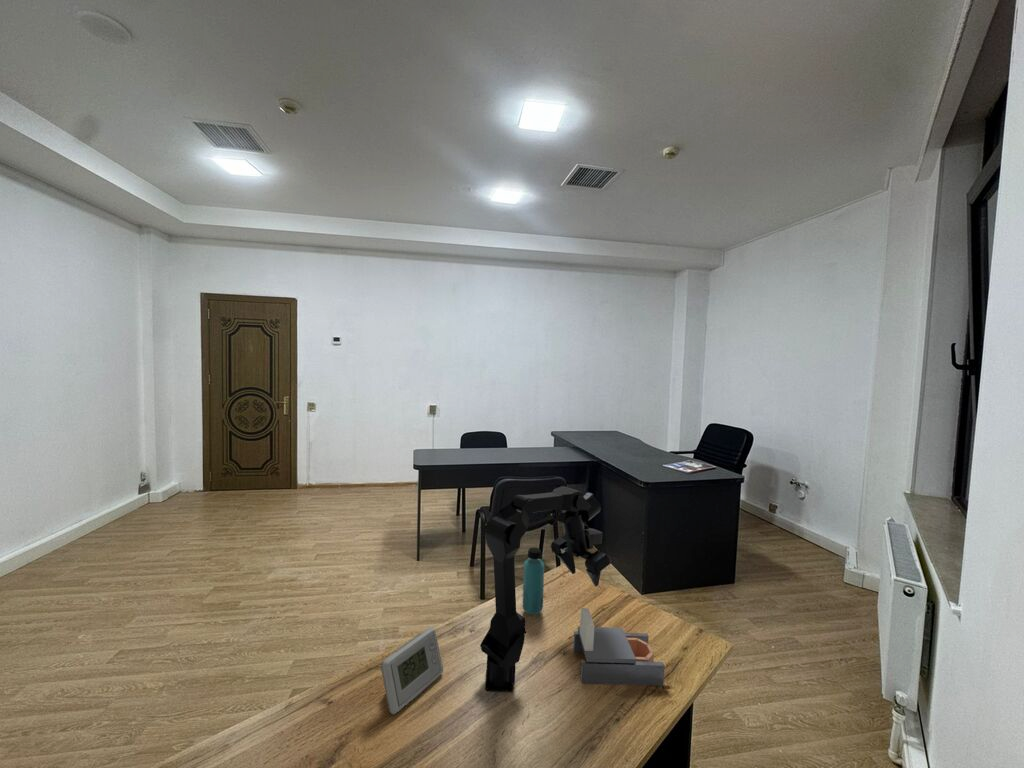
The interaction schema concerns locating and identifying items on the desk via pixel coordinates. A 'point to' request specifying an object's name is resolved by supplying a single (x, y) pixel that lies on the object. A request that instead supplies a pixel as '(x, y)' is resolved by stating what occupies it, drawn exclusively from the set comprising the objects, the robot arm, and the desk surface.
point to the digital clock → (411, 669)
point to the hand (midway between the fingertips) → (585, 579)
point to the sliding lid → (603, 642)
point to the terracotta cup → (641, 650)
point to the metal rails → (620, 668)
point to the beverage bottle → (533, 582)
